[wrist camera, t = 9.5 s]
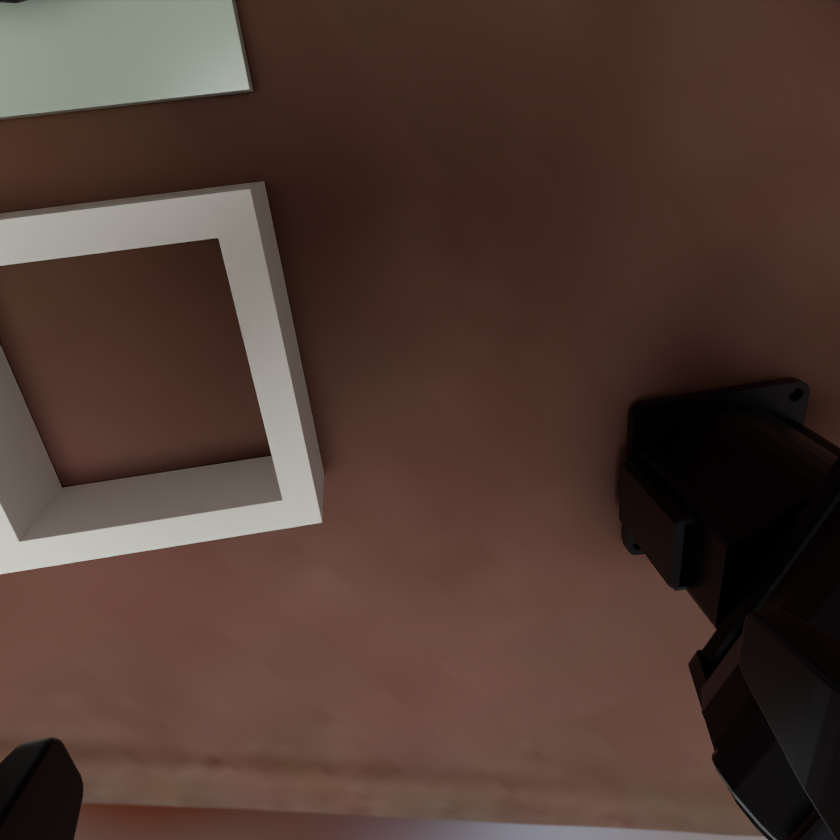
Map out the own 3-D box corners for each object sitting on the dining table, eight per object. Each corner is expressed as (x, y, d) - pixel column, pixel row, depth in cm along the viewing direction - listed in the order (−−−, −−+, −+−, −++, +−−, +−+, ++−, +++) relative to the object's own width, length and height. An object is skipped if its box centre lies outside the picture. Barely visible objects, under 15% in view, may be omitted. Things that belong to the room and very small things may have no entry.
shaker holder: (264, 180, 17) (250, 188, 14) (324, 473, 21) (322, 522, 18) (-92, 224, 16) (-178, 241, 14) (42, 517, 20) (-3, 574, 18)
